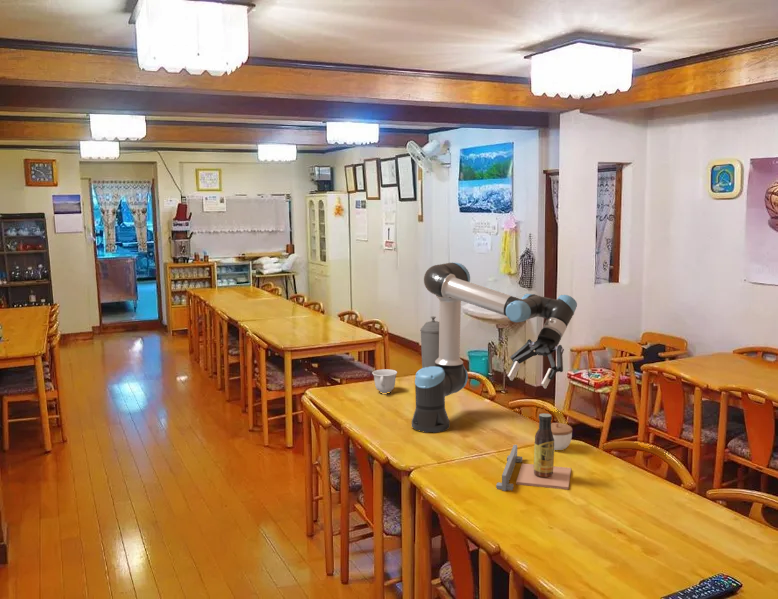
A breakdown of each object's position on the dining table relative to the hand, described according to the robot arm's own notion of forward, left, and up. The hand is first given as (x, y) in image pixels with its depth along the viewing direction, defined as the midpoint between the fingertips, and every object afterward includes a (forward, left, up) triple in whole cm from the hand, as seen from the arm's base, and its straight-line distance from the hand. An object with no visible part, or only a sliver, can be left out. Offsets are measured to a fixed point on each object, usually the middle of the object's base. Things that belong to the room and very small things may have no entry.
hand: (526, 382), depth 234 cm
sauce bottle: (+7, -16, -26) cm, 32 cm away
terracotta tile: (+8, -16, -27) cm, 32 cm away
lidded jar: (+10, +12, -27) cm, 31 cm away
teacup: (-73, +66, -27) cm, 102 cm away
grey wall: (-3, -16, -27) cm, 32 cm away
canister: (-53, +81, -27) cm, 101 cm away
